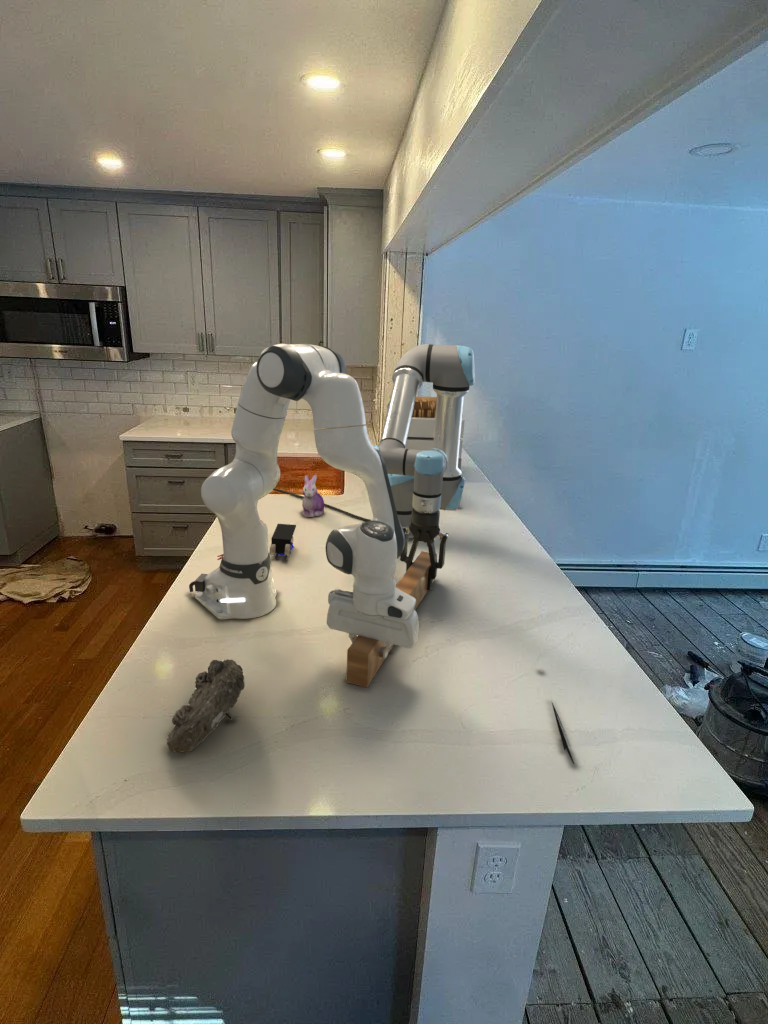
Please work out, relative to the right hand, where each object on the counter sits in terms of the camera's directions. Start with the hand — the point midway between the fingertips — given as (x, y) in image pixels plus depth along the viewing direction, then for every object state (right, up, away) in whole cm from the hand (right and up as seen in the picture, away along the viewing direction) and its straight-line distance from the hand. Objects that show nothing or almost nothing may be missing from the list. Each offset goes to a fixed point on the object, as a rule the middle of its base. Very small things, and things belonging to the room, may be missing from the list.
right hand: (420, 586), depth 160 cm
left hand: (-13, -10, -36) cm, 39 cm away
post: (-7, -7, -17) cm, 20 cm away
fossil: (-43, -18, -52) cm, 70 cm away
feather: (+24, -19, -47) cm, 56 cm away
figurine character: (-42, +8, +20) cm, 47 cm away
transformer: (+7, +40, +115) cm, 122 cm away
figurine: (-37, +20, +55) cm, 70 cm away
